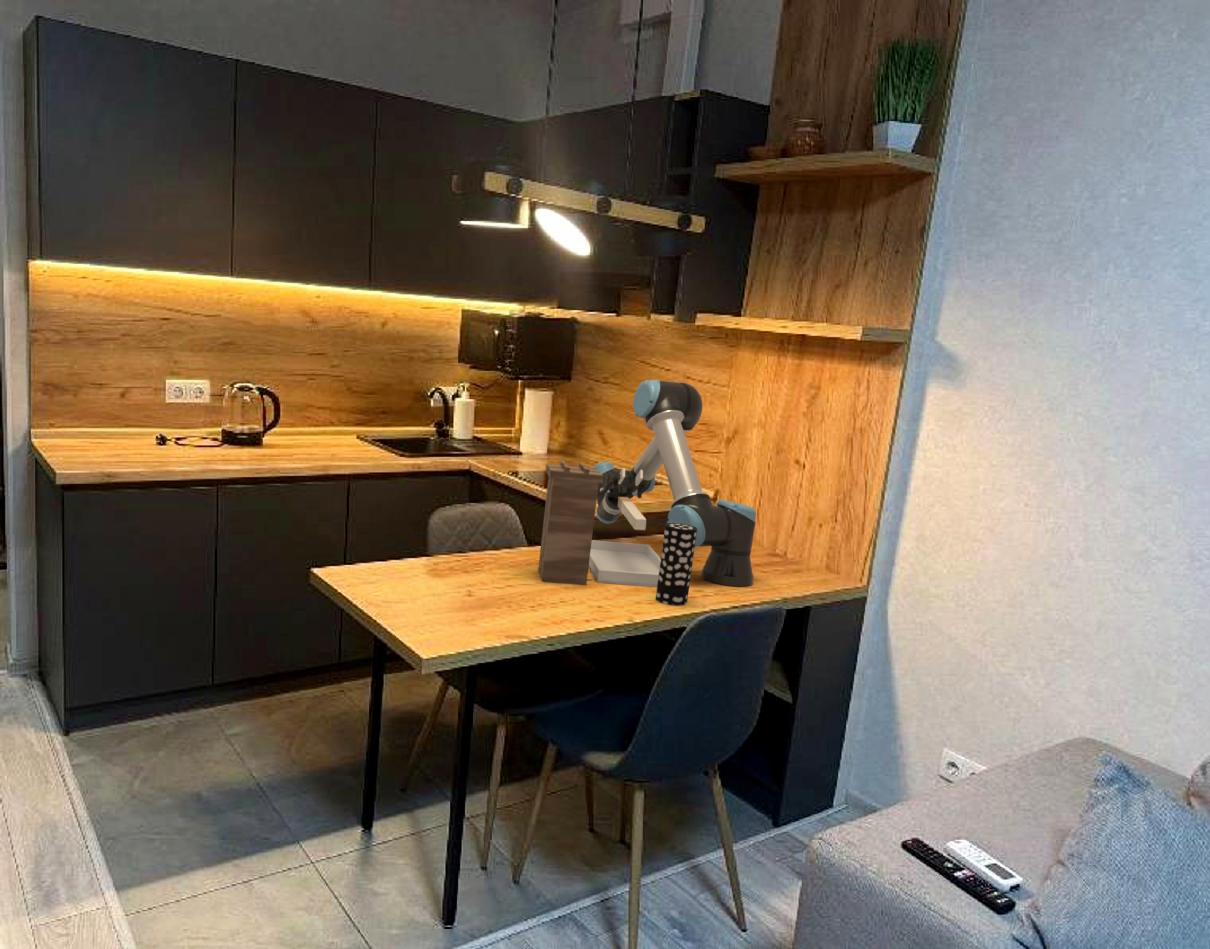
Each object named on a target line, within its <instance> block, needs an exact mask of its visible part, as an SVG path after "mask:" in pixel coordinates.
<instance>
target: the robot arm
mask: <svg viewBox="0 0 1210 949" xmlns="http://www.w3.org/2000/svg"><path fill="white" fill-rule="evenodd" d="M632 403H633V404H632V405H633V406H632V409H633V411H634V414H635V415H636V417H638V418H639V419H644V420H645V425H646V427H647V429H648V430H650V431H652V432H653V434H654V437H653V438H652V440H651V441H650V443H649V444H648V446H647V447H646V448H645V450H644V451H643V453H642V454H641V455H640V457H639V459H638V460H637V462H635V464H634V466H633V467H632V468H631V469H630V470H628V469H627V470H626V468H625V467H622V469H615V468H616V467H614V464H613V463H612V462H609V461H604V462H599V463H597V464H595V465H593V467H592V468H596V469H597V470H598V471H599V472H600V473H601V474H602V475H603V476H604V477H603V483H599V485H598V493H597V501H596V504H597V508H596V517H597V519H598V520H599V521H600V522H601V523H603V524H605V525H606V524H607V525H610V524H613V523H615V522H616V521H617V520H619V518H620V516H621V514H623V513H622V512H621V510H620V509H619V507H618V497H628V498H629V499H630V500H631V499H632V498H634V497H636V498H638V499H642V497H643V494H645V493H650V492H652V491H653V490H654V488H655V484H656V478H655V476H656V474H657V473H658V472H659V470H660V469H661V468H662V466H664V471H665V474H666V478H667V481H668V484H669V488H670V490H671V494H672V497H673V501H672V503H671V505H670V510H669V512H668V514H667V519H668V520H667V521H666V524H667V523H679V524H686V525H690V526H694V527H696V528H697V534H696V541H695V548H696V547H710V548H711V549H710V551H709V552H710V553H709V555H708V557H706V558H707V559H706V561H705V564H704V566H702V569H701V577H702V579H705V581H708V582H710V583H711V582H712V583H715V584H719V585H723V586H730V587H749V586H752V585H753V582H754V574H753V567H752V562H751V561H752V560H751V556H752V555H751V552H752V548H753V547H752V546H753V541H754V534H755V529H756V524H757V521H756V518H757V511H756V509H755V508H754V507H752V506H749V505H747V504H743V503H739V502H735V501H731V500H725V499H719V500H717V502H716V505H713V503H712V499H711V497H710V494H709V493H706V492H704V491H703V489H702V486H701V483H700V480H699V479H700V478H699V477H698V473H697V470H696V467H695V466H696V465H695V463H694V460H693V458H692V454H691V451H690V448H689V443H688V441H687V438H686V433H687V432H691V431H693V429H694V428H695V427H696V426H697V424H698V422H699V420H700V418H701V416H702V414H703V407H704V406H703V405H704V404H703V400H702V396H701V394H700V392H699V391H698V390H697V388H695V387H694V386H693V385H691V384H689V383H687V382H676V381H664V380H659V379H646V380H644V381H642V382H641V383H640V384H639V385H638V387H637V388H636V390H635V393H634V396H633V400H632Z"/></svg>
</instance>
